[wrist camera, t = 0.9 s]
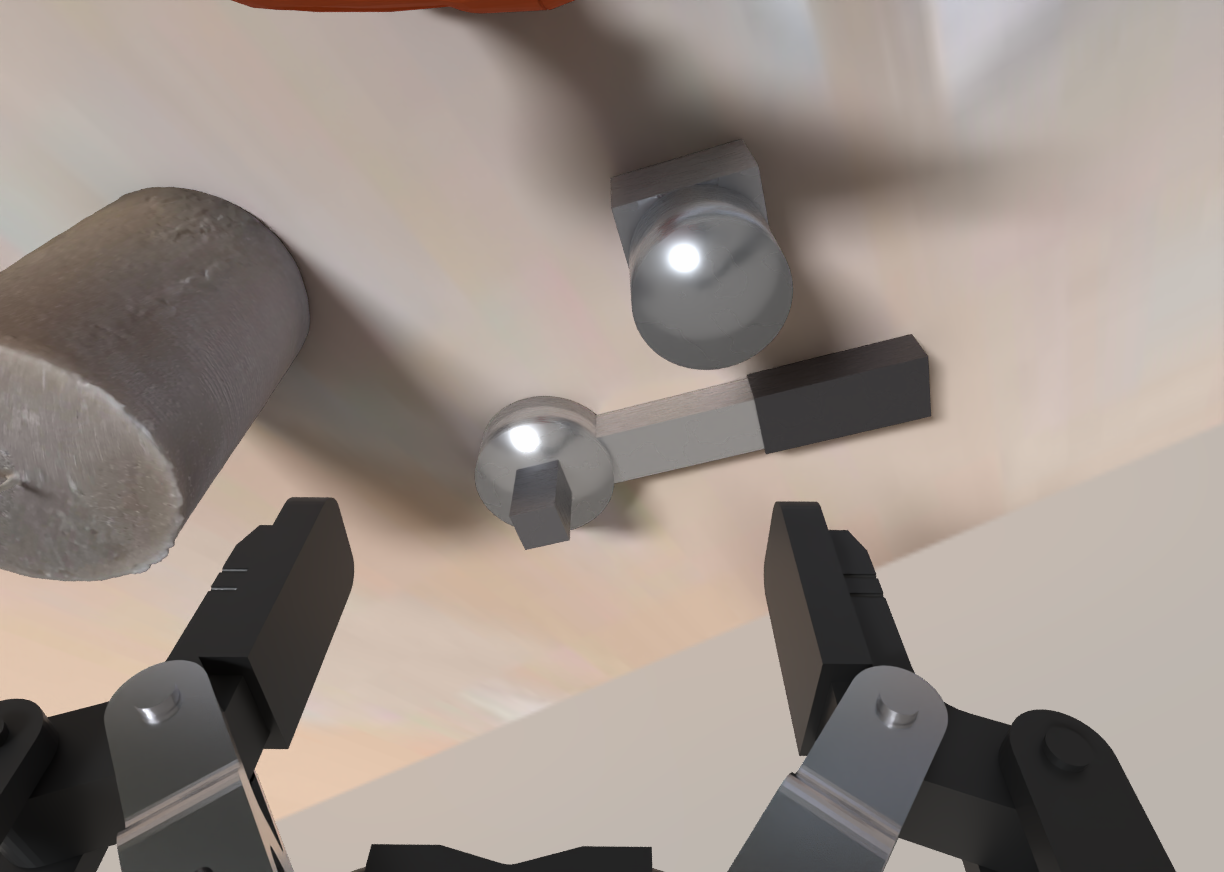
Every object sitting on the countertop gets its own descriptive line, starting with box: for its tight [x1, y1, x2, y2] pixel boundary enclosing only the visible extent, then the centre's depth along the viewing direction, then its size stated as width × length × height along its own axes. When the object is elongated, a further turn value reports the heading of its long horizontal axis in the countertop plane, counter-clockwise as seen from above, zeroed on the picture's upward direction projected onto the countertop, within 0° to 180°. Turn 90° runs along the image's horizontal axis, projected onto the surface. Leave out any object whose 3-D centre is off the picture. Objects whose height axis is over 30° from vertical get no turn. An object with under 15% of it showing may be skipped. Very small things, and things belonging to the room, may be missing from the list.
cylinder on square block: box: [611, 139, 793, 370], centre depth 29 cm, size 6×6×8 cm
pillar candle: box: [0, 187, 310, 581], centre depth 28 cm, size 10×10×15 cm
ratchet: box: [475, 334, 931, 550], centre depth 36 cm, size 22×7×6 cm, turn 106°
